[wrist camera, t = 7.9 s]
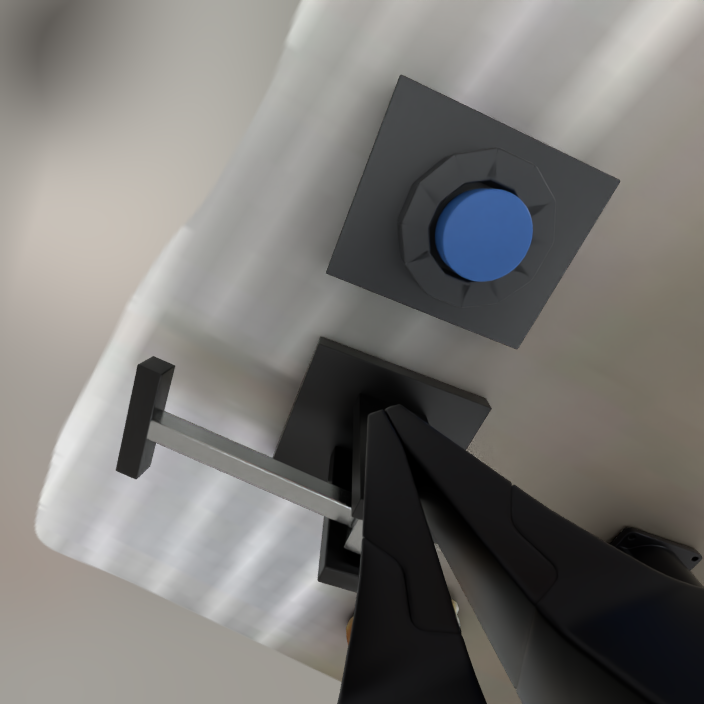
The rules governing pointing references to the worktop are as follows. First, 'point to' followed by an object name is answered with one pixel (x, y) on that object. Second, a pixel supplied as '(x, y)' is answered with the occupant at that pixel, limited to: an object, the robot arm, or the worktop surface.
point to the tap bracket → (361, 431)
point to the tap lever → (220, 453)
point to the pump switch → (444, 185)
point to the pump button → (484, 234)
